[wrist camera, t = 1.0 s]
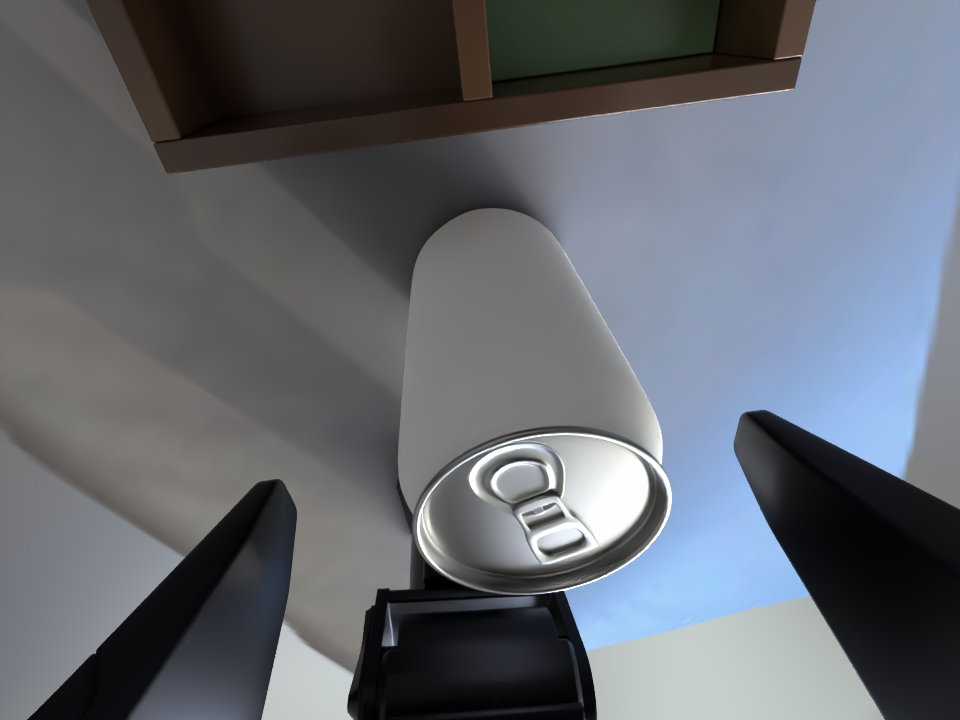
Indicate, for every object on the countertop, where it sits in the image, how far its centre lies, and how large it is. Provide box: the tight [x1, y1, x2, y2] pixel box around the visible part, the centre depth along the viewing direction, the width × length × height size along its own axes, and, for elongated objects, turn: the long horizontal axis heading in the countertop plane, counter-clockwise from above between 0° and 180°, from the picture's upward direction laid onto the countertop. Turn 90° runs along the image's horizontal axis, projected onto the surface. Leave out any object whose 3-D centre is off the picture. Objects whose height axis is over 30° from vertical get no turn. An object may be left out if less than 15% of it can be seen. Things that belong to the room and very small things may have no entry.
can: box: [398, 208, 672, 595], centre depth 15 cm, size 6×6×12 cm
